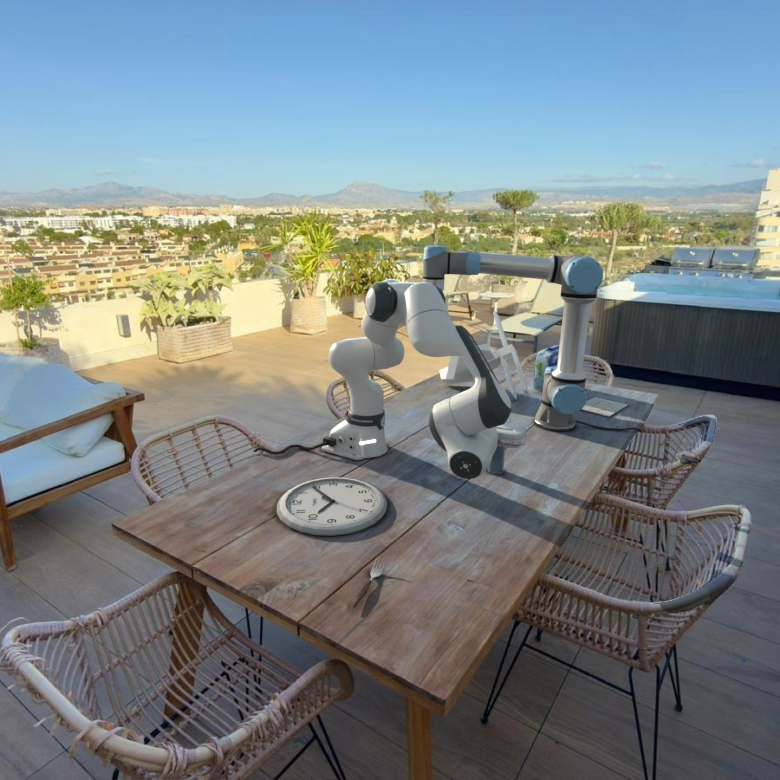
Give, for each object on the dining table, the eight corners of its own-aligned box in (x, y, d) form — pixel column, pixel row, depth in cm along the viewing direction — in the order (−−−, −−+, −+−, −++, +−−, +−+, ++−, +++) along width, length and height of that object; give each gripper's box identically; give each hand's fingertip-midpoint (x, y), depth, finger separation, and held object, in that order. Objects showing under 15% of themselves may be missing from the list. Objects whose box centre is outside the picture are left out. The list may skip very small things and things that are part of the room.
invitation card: (608, 416, 214) (573, 407, 224) (608, 416, 214) (573, 408, 224) (628, 404, 229) (594, 396, 238) (628, 405, 229) (594, 397, 238)
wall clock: (392, 527, 129) (268, 531, 127) (391, 533, 130) (269, 537, 127) (383, 473, 158) (282, 475, 155) (383, 478, 158) (282, 480, 156)
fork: (347, 608, 104) (347, 600, 103) (376, 563, 118) (376, 555, 118) (359, 612, 103) (359, 603, 103) (387, 565, 118) (387, 558, 117)
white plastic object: (461, 429, 252) (437, 405, 227) (444, 352, 274) (420, 323, 250) (535, 404, 240) (518, 377, 215) (510, 326, 262) (492, 293, 237)
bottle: (503, 468, 166) (509, 403, 160) (502, 475, 162) (508, 408, 155) (488, 466, 167) (493, 402, 161) (487, 473, 163) (492, 407, 156)
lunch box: (550, 397, 237) (555, 352, 231) (529, 391, 245) (533, 348, 238) (577, 386, 255) (582, 344, 249) (556, 381, 262) (561, 340, 256)
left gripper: (525, 433, 121) (531, 414, 133) (439, 421, 128) (452, 405, 140) (522, 458, 123) (528, 437, 135) (438, 445, 129) (451, 427, 142)
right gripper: (424, 287, 195) (422, 343, 201) (420, 295, 171) (417, 358, 177) (444, 287, 194) (441, 343, 200) (443, 296, 170) (440, 359, 177)
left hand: (489, 421), depth 138 cm, fingers open, 8 cm apart
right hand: (430, 350), depth 189 cm, fingers open, 13 cm apart
